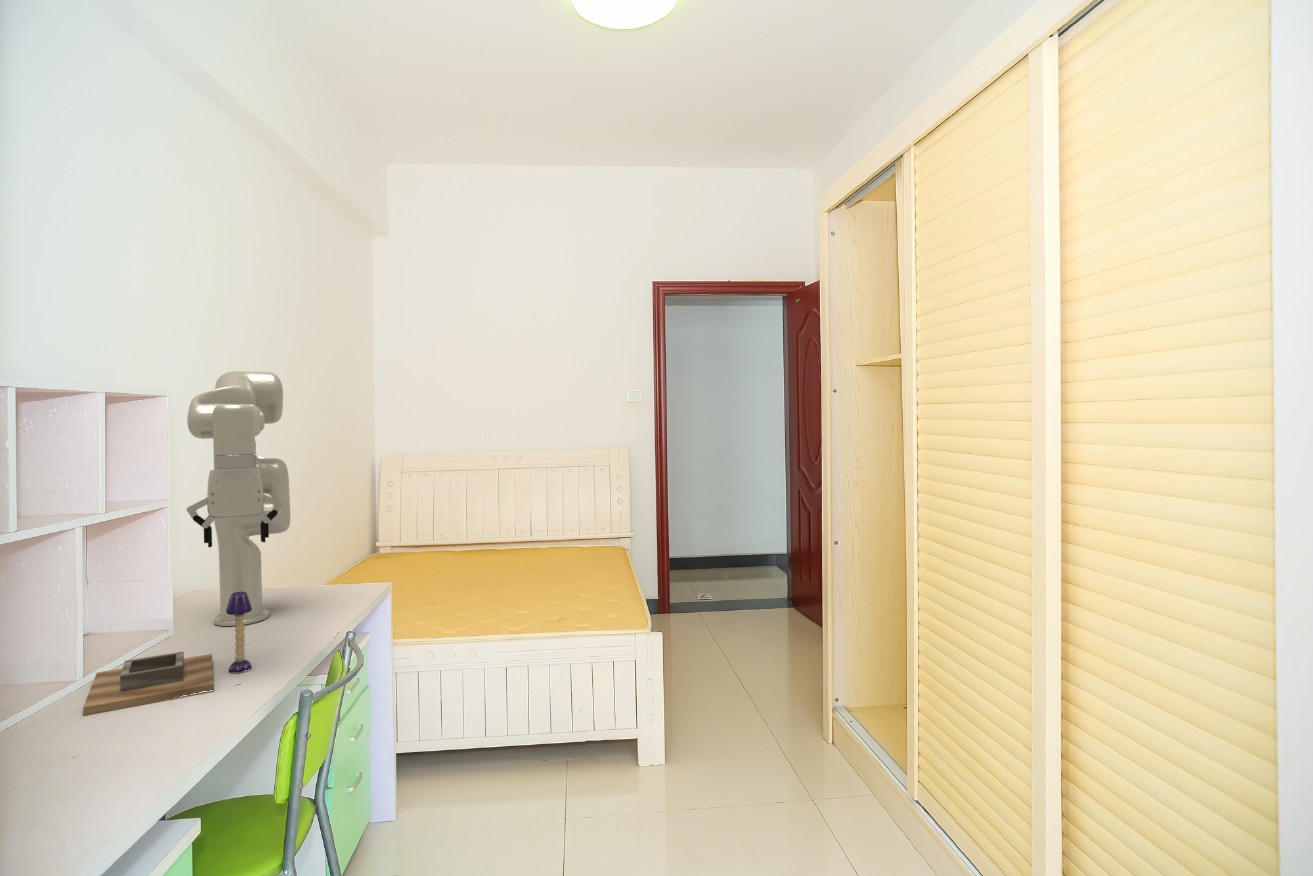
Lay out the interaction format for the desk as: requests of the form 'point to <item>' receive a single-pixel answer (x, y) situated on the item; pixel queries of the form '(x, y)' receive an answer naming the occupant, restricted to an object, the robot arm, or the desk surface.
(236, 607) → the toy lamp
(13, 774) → the desk surface
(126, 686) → the socket board
